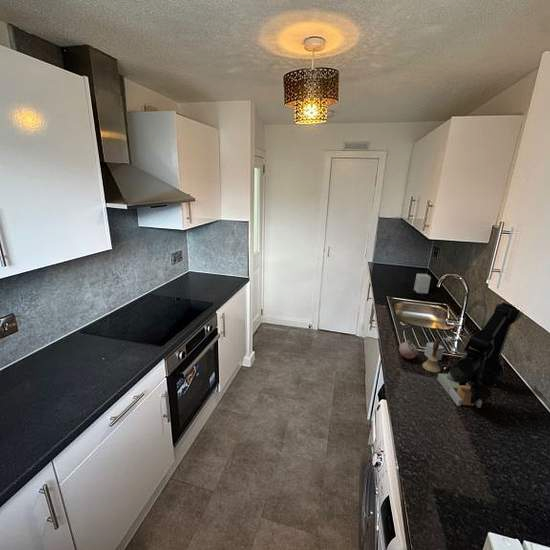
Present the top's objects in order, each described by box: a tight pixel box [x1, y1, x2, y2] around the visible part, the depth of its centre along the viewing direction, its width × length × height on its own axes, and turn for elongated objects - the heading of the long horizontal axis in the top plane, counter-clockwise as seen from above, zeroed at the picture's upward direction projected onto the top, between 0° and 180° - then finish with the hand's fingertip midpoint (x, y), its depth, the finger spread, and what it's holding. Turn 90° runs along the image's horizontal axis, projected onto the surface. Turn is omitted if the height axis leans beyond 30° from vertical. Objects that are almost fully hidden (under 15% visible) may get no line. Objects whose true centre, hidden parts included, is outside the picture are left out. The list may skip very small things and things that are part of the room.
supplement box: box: [413, 273, 432, 295], centre depth 256 cm, size 9×9×15 cm
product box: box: [423, 342, 445, 361], centre depth 159 cm, size 6×6×7 cm
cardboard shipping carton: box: [457, 385, 475, 406], centre depth 128 cm, size 5×5×6 cm
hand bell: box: [421, 338, 441, 373], centre depth 149 cm, size 8×8×16 cm
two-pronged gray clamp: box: [436, 371, 483, 409], centre depth 133 cm, size 18×10×5 cm, turn 177°
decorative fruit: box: [398, 339, 418, 360], centre depth 157 cm, size 9×8×10 cm
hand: (466, 396), depth 128 cm, fingers open, 8 cm apart
